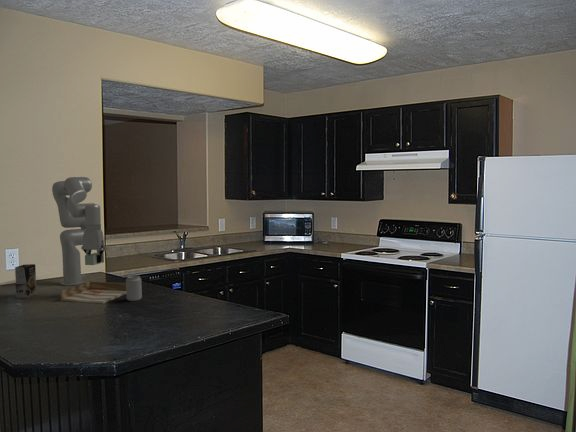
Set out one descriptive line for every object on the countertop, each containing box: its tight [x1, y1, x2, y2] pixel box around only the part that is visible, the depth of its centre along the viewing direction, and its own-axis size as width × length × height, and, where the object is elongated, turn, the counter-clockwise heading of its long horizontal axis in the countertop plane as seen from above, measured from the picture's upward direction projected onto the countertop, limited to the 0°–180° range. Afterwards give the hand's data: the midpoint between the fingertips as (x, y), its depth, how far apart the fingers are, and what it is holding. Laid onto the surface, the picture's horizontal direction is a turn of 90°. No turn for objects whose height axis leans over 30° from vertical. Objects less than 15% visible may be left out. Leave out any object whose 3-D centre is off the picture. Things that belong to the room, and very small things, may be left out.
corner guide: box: [59, 281, 126, 304], centre depth 264 cm, size 24×24×5 cm
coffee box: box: [14, 263, 38, 299], centre depth 266 cm, size 9×6×16 cm
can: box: [125, 275, 143, 302], centre depth 256 cm, size 8×8×12 cm
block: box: [84, 252, 105, 266], centre depth 268 cm, size 5×9×5 cm, turn 167°
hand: (94, 261), depth 268 cm, fingers closed on block, 5 cm apart
